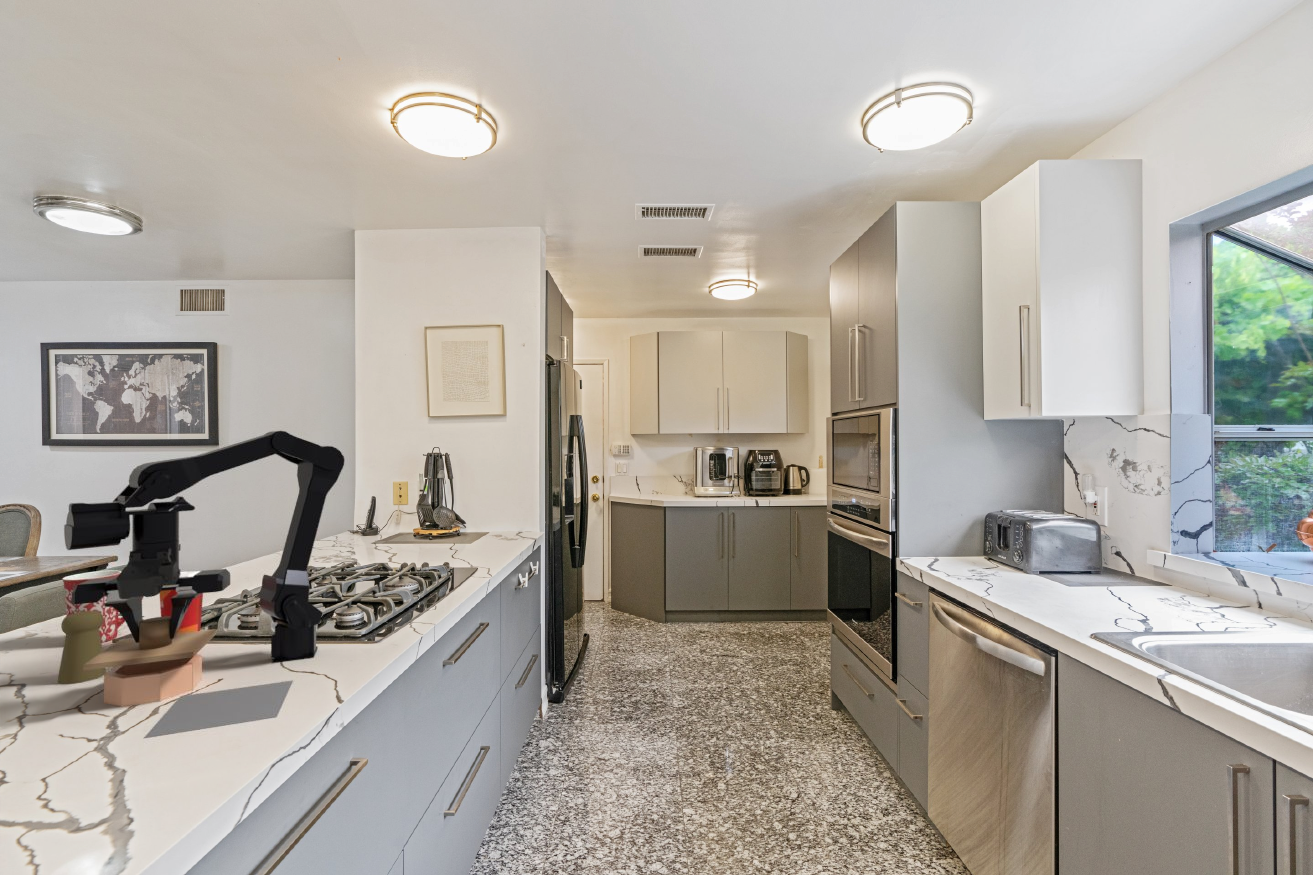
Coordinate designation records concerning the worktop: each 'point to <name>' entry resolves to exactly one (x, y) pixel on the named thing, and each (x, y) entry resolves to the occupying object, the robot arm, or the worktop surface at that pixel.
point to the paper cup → (193, 612)
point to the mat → (222, 708)
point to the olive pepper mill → (80, 647)
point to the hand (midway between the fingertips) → (155, 640)
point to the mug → (109, 613)
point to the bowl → (151, 681)
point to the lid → (152, 646)
